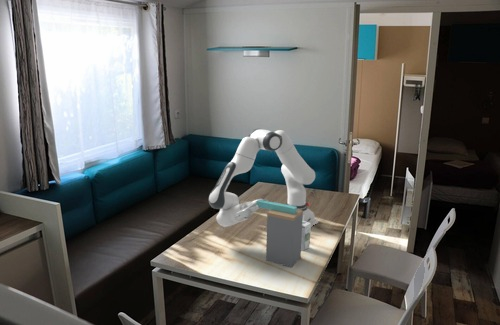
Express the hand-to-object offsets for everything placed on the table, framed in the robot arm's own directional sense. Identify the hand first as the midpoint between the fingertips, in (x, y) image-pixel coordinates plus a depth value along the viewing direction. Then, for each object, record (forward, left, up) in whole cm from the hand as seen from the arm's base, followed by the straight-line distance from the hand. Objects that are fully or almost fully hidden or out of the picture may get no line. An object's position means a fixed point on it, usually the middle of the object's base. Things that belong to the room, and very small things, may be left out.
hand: (263, 203), depth 218 cm
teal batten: (-3, +7, -2) cm, 8 cm away
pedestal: (-5, +12, -28) cm, 30 cm away
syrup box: (-22, +8, -28) cm, 36 cm away
